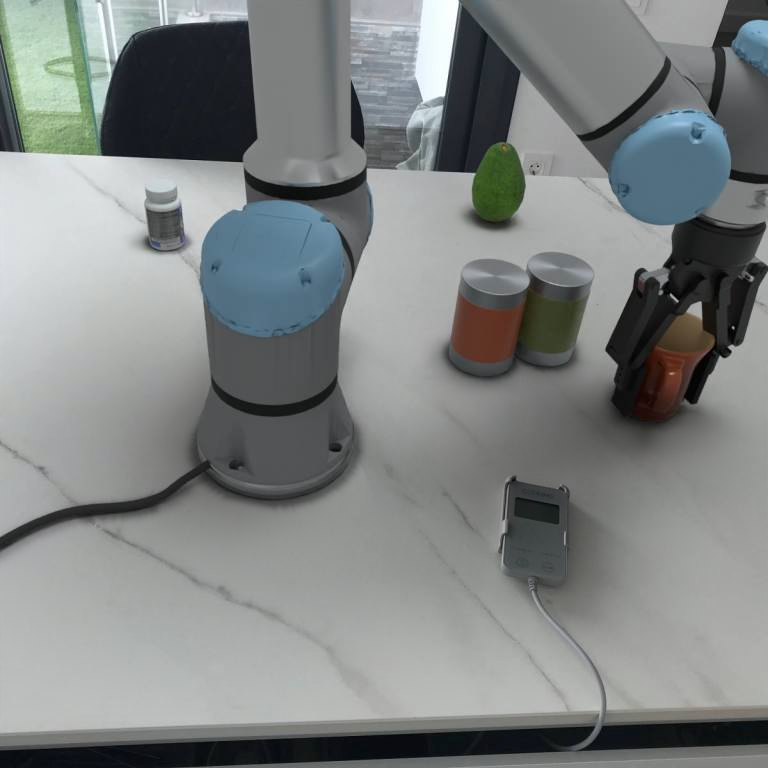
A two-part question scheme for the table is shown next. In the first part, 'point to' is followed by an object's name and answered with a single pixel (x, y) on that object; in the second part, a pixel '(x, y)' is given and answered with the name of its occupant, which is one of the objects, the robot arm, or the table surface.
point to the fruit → (498, 183)
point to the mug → (671, 368)
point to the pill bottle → (164, 215)
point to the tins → (519, 312)
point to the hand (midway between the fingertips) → (654, 402)
